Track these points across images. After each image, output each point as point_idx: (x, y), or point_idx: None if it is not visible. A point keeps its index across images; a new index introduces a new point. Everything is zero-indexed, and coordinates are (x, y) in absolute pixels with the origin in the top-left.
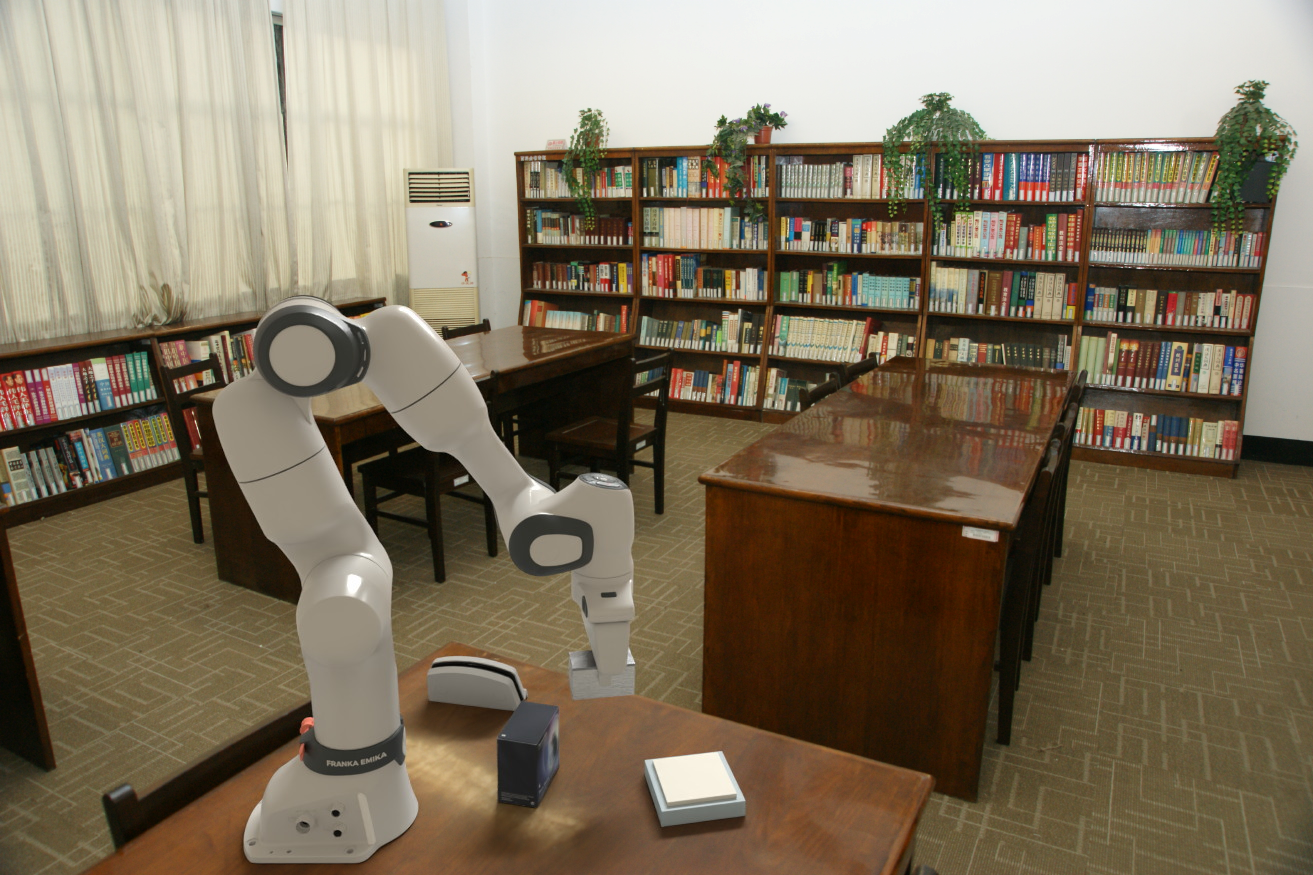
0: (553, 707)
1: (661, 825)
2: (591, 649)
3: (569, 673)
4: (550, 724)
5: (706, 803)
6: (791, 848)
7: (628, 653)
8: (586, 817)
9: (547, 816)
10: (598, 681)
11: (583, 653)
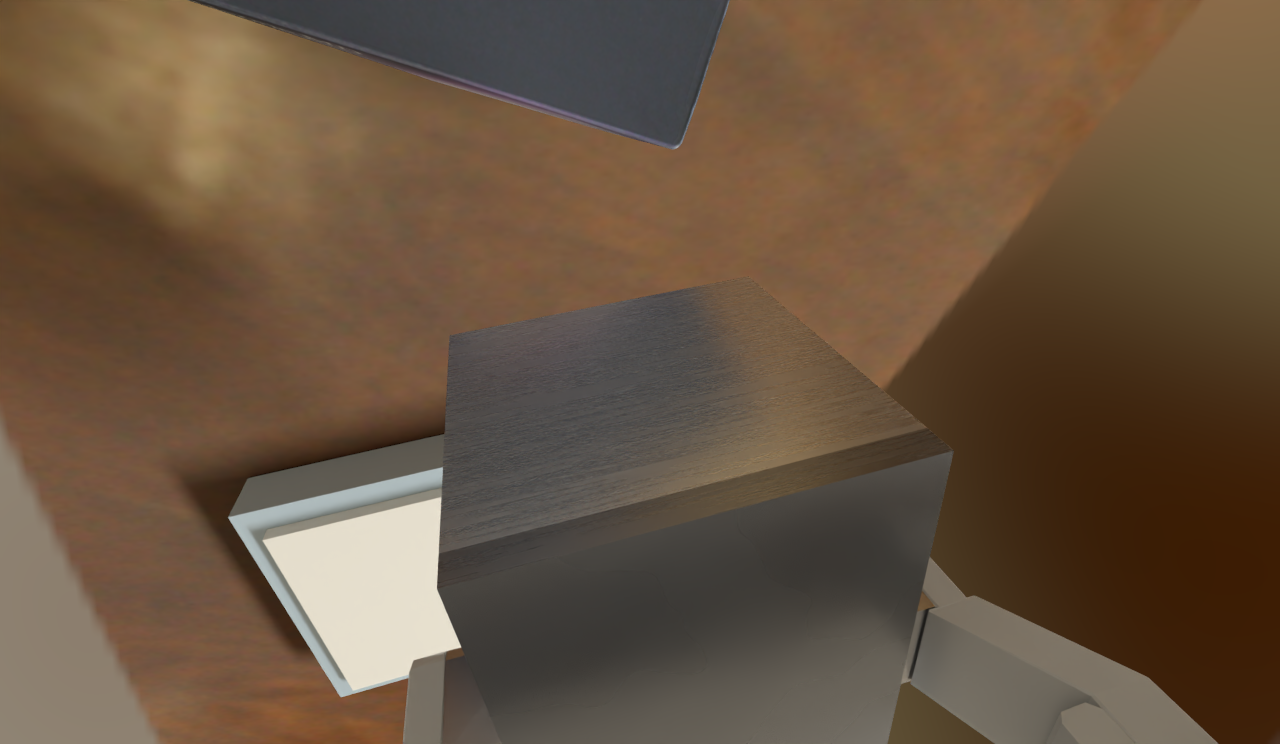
0: (660, 108)
1: (248, 479)
2: (958, 600)
3: (739, 339)
4: (468, 86)
5: (308, 620)
6: (229, 740)
7: None
8: (243, 230)
9: (210, 51)
10: (457, 660)
11: (859, 605)
